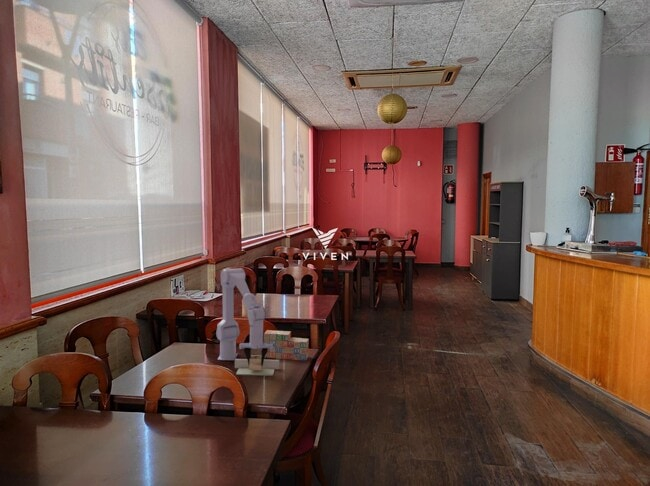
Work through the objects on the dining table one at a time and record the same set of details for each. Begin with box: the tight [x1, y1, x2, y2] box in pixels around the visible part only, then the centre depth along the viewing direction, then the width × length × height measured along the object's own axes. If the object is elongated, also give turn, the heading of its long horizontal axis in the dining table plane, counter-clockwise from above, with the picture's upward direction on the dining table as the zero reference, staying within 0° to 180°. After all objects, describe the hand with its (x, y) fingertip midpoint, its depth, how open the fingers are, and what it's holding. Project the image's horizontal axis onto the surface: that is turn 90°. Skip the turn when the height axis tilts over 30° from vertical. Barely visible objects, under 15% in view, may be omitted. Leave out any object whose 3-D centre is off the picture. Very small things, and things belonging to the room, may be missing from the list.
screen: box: [234, 358, 280, 370], centre depth 200 cm, size 1×20×4 cm, turn 91°
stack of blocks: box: [263, 329, 310, 362], centre depth 217 cm, size 21×6×12 cm, turn 81°
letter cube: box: [249, 354, 262, 370], centre depth 195 cm, size 5×5×5 cm
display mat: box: [235, 368, 275, 377], centre depth 195 cm, size 7×16×1 cm, turn 91°
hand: (255, 364), depth 195 cm, fingers closed on letter cube, 5 cm apart
